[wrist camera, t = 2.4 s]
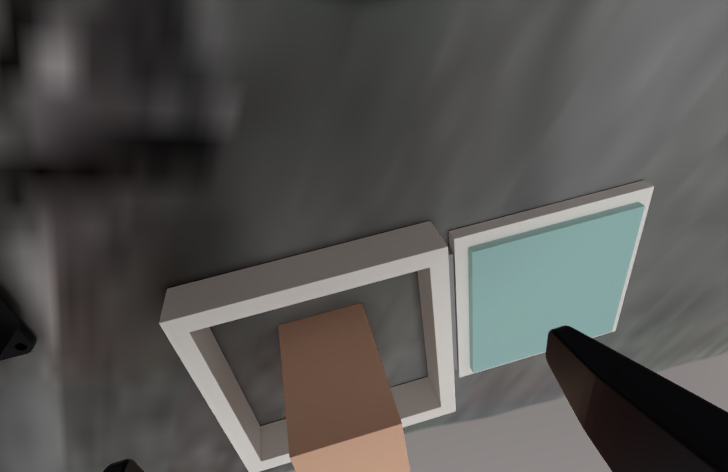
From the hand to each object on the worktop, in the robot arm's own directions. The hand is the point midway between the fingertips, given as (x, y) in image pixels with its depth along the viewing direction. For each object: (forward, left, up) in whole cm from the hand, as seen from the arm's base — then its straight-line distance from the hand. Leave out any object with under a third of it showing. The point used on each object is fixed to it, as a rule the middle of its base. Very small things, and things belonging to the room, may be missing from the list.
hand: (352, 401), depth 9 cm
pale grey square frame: (-1, -12, -13) cm, 18 cm away
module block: (-1, -12, -13) cm, 18 cm away
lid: (+13, -12, -13) cm, 22 cm away
